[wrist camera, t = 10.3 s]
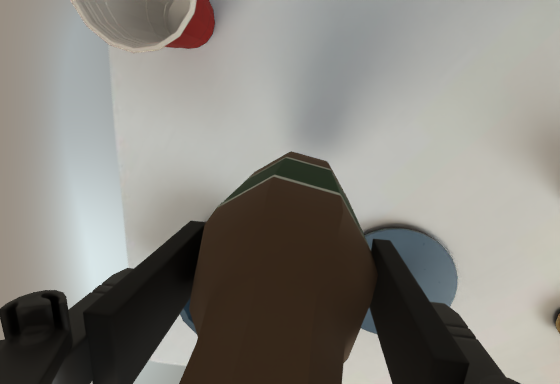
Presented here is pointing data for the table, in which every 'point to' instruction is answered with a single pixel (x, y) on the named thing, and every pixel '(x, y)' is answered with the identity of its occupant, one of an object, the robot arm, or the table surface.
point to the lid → (420, 265)
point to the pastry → (558, 323)
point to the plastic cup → (148, 22)
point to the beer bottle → (280, 280)
